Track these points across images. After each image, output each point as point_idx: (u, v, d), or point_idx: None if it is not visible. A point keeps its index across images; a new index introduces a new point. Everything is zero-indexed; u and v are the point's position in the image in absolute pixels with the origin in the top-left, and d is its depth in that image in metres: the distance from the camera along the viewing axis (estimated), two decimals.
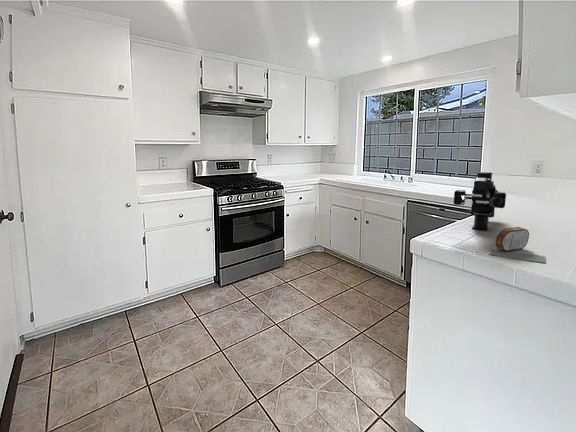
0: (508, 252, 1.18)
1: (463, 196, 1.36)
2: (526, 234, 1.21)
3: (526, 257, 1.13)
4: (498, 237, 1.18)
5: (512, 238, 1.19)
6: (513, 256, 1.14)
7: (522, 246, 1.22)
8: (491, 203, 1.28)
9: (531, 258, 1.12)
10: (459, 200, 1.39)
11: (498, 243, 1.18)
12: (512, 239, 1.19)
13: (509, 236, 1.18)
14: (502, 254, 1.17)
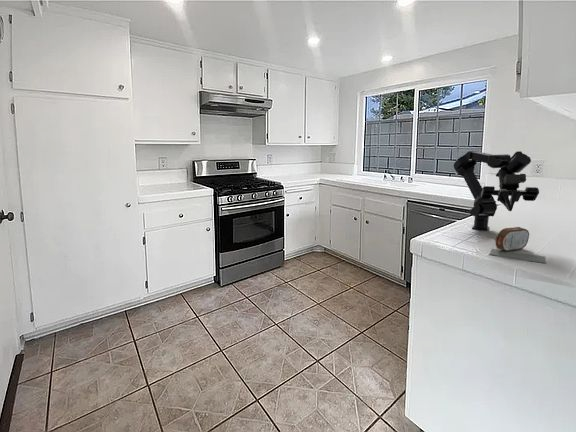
0: (508, 252, 1.18)
1: (508, 200, 1.28)
2: (526, 234, 1.21)
3: (526, 257, 1.13)
4: (498, 237, 1.18)
5: (512, 238, 1.19)
6: (513, 256, 1.14)
7: (522, 246, 1.22)
8: None
9: (531, 258, 1.12)
10: (501, 198, 1.31)
11: (498, 243, 1.18)
12: (512, 239, 1.19)
13: (509, 236, 1.18)
14: (502, 254, 1.17)
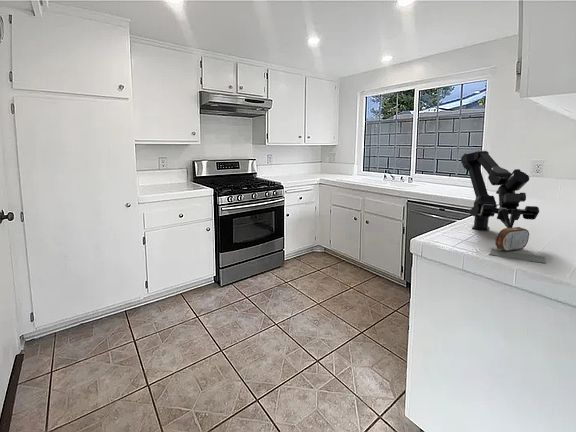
0: (508, 252, 1.18)
1: (507, 219, 1.26)
2: (526, 234, 1.21)
3: (526, 257, 1.13)
4: (498, 237, 1.18)
5: (512, 238, 1.19)
6: (513, 256, 1.14)
7: (522, 246, 1.22)
8: None
9: (531, 258, 1.12)
10: (500, 216, 1.30)
11: (498, 243, 1.18)
12: (512, 239, 1.19)
13: (509, 236, 1.18)
14: (502, 254, 1.17)
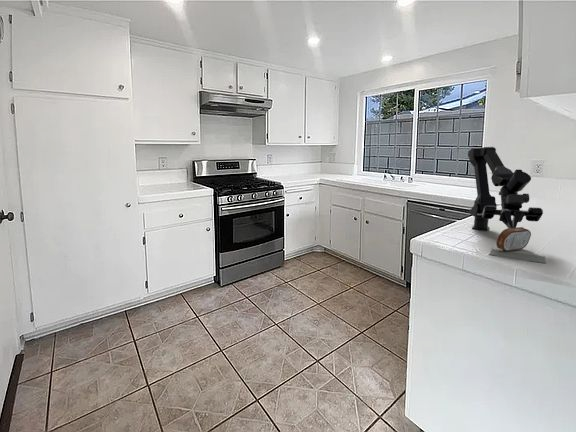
0: (508, 252, 1.18)
1: (510, 221, 1.23)
2: (527, 235, 1.21)
3: (526, 257, 1.13)
4: (499, 237, 1.18)
5: (514, 238, 1.18)
6: (513, 256, 1.14)
7: (522, 246, 1.22)
8: None
9: (531, 258, 1.12)
10: (503, 218, 1.26)
11: (499, 243, 1.18)
12: (514, 239, 1.19)
13: (510, 237, 1.17)
14: (502, 254, 1.17)
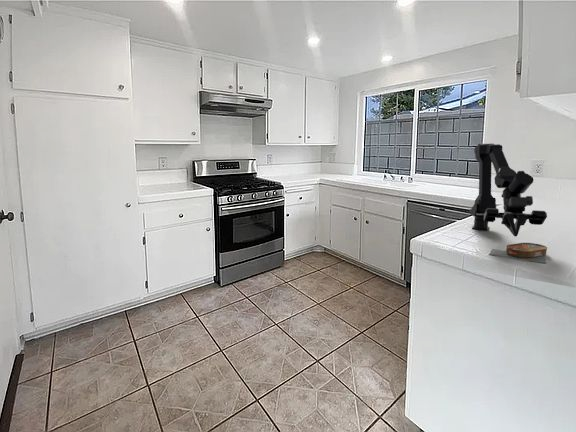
0: None
1: (513, 224, 1.18)
2: None
3: None
4: (515, 251, 1.13)
5: None
6: (513, 256, 1.14)
7: None
8: (517, 232, 1.18)
9: (531, 258, 1.12)
10: (505, 221, 1.22)
11: (510, 251, 1.15)
12: None
13: None
14: (502, 254, 1.17)
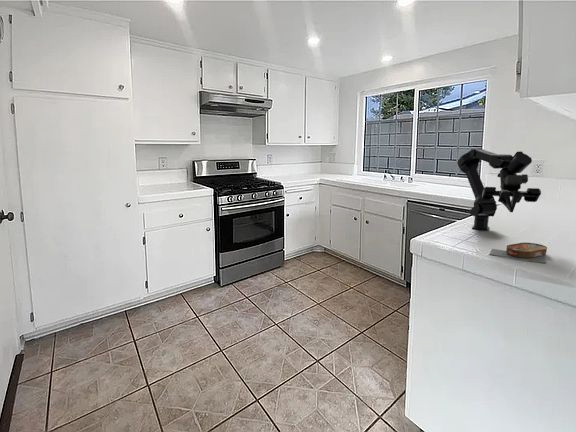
0: None
1: (509, 201, 1.26)
2: None
3: None
4: (515, 251, 1.13)
5: None
6: (513, 256, 1.14)
7: None
8: (513, 209, 1.26)
9: (531, 258, 1.12)
10: (502, 199, 1.30)
11: (510, 251, 1.15)
12: None
13: None
14: (502, 254, 1.17)
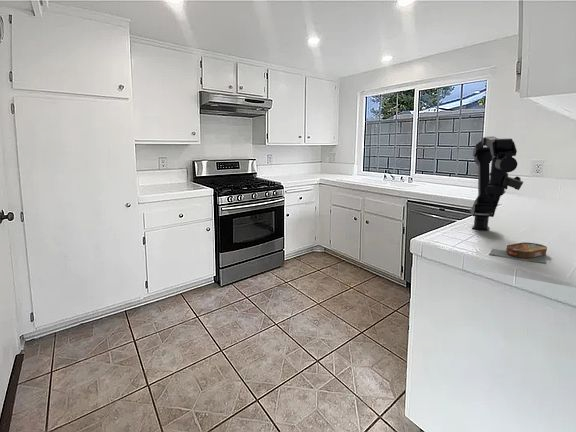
0: None
1: None
2: None
3: None
4: (515, 252, 1.13)
5: None
6: (513, 256, 1.14)
7: None
8: None
9: (531, 258, 1.12)
10: None
11: (510, 252, 1.15)
12: None
13: None
14: (502, 254, 1.17)
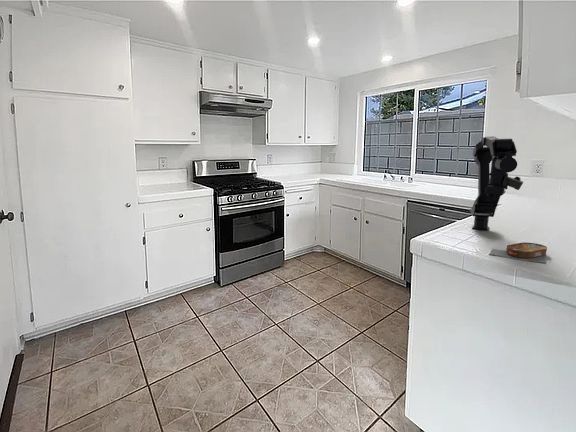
0: None
1: None
2: None
3: None
4: (515, 251, 1.13)
5: None
6: (513, 256, 1.14)
7: None
8: None
9: (531, 258, 1.12)
10: (492, 193, 1.32)
11: (510, 252, 1.15)
12: None
13: None
14: (502, 254, 1.17)
